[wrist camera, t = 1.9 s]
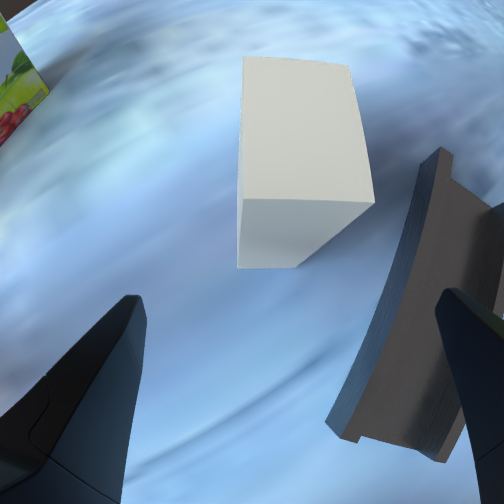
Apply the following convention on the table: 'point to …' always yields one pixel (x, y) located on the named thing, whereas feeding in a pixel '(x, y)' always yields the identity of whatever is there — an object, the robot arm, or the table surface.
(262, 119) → the cream rectangular block
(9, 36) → the snack box
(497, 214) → the bottom track
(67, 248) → the table surface
